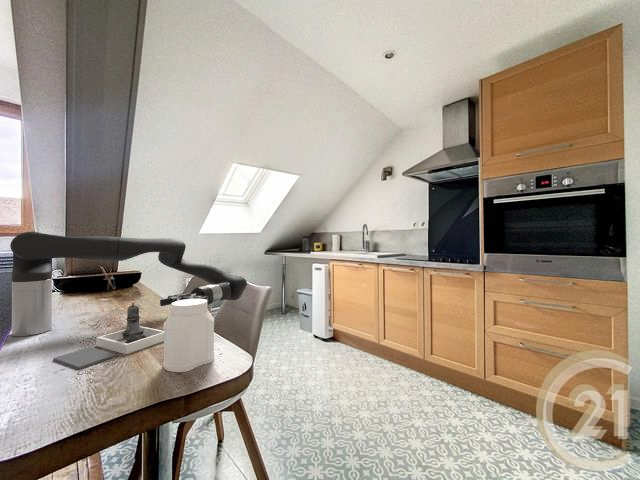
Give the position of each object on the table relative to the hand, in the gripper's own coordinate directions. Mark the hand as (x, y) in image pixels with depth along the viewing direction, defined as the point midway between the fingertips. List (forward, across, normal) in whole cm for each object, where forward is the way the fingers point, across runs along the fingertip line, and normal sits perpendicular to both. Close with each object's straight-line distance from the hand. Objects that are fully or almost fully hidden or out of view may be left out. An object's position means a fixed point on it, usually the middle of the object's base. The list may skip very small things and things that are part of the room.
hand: (169, 304), depth 93 cm
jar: (+14, +26, +9) cm, 31 cm away
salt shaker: (+12, 0, +9) cm, 15 cm away
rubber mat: (+24, 0, +9) cm, 25 cm away
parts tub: (+12, 0, +9) cm, 15 cm away
